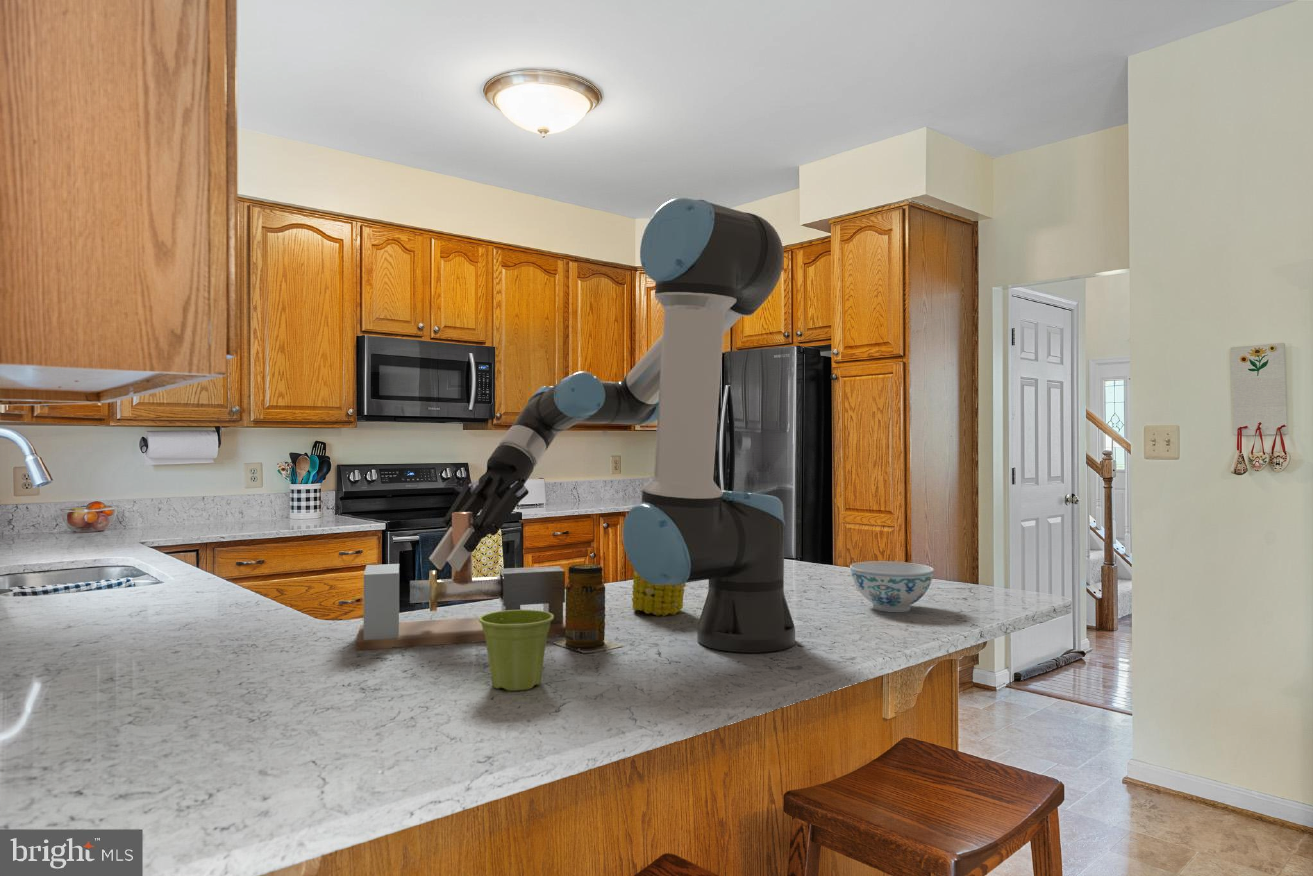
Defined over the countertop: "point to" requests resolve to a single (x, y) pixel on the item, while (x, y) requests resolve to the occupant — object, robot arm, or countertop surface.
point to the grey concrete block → (534, 589)
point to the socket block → (381, 601)
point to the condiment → (585, 610)
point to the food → (657, 597)
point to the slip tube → (456, 576)
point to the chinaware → (891, 583)
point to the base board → (437, 633)
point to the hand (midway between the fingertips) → (443, 564)
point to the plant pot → (516, 646)
